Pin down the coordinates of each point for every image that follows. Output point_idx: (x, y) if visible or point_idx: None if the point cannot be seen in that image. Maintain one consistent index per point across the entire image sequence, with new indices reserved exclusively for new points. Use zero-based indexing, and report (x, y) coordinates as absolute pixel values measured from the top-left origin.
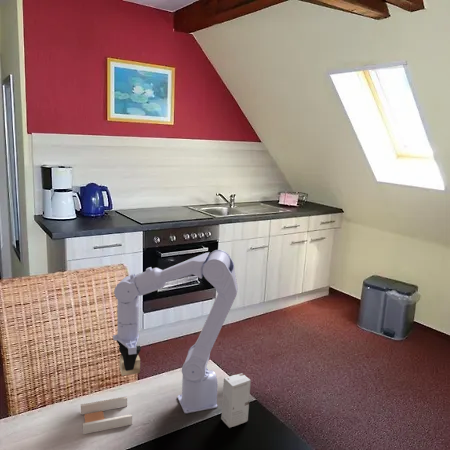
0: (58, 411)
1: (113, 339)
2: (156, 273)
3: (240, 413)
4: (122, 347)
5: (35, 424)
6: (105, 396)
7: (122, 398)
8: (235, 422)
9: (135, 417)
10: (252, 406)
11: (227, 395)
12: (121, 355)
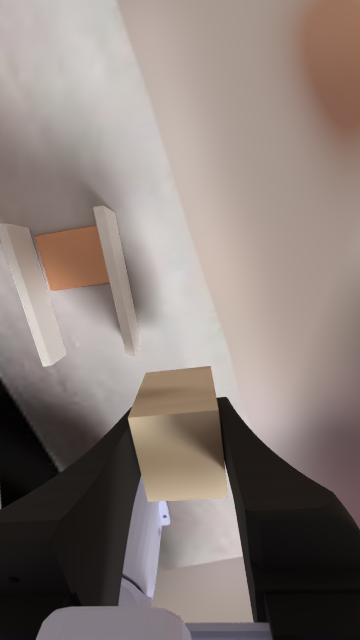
0: (128, 130)
1: (63, 623)
2: None
3: None
4: (40, 569)
5: (63, 49)
6: (190, 286)
7: (125, 343)
8: None
9: (86, 363)
10: None
11: None
12: (215, 419)
